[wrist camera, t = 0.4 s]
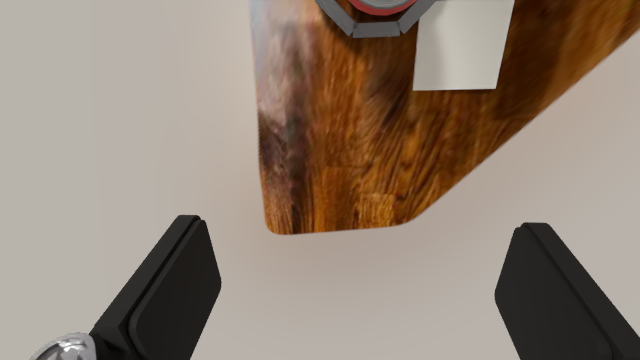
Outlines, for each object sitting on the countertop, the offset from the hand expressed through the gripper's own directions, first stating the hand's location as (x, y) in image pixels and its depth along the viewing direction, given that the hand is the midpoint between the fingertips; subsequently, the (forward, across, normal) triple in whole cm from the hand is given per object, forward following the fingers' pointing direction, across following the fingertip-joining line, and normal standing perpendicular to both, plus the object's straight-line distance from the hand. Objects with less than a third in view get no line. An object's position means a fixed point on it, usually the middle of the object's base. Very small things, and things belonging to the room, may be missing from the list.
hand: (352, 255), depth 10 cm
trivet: (+27, -10, -2) cm, 29 cm away
